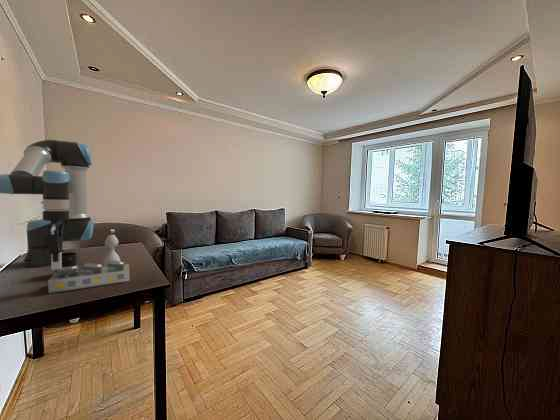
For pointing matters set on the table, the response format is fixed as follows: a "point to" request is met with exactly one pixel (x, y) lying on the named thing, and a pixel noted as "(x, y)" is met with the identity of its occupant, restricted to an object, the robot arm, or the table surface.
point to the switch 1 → (67, 270)
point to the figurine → (111, 249)
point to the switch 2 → (92, 267)
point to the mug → (68, 259)
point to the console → (88, 279)
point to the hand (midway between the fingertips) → (56, 268)
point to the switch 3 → (115, 264)
